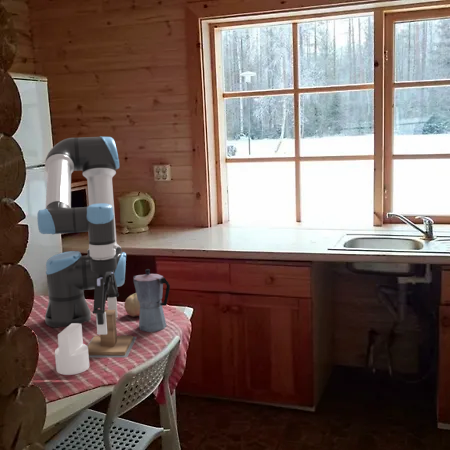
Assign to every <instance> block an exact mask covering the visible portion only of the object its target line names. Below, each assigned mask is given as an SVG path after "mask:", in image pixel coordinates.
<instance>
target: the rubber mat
mask: <svg viewBox="0 0 450 450" xmlns="http://www.w3.org/2000/svg"><path fill="white" fill-rule="evenodd" d="M93 338H94V336H93V337H92V338H91V340H90V341H89V343H88V344H87V346H88V345H89V344H90V342H91V341H92V339H93ZM137 338H138V336H133V340H132V342H131V344H130V346H129V348H128V350H127V352H126V354H125V355H89V359H90V358H91V359H92V358H129V357H128V356H129V355H130V353H131V351H132V348H133V346H134V344H135V342H136V340H137Z"/></svg>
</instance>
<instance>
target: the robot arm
mask: <svg viewBox="0 0 450 450" xmlns="http://www.w3.org/2000/svg"><path fill="white" fill-rule="evenodd" d="M44 168H45V171H46V172H47V179H46V180H47V181H46V195H45V198H46V199H45V208H44V209H40V210H38V211H37V227H38V232H39V233H40V234H42V235H59V234H74V233H85V232H88V248H87V252H86V253H87V255H82V254H81V252H80V251H78V250H77V251H76V250H75V251H74V250H70V251H64V252H60V253H57V254H54V255H52V256H50V257H49V258H48V259H46V262H45V263H46V264H45V269H46V270H45V274H46V281H47V293H48V304H47V308H46V312H45V315H44V319H45V320H44V321H45V324H46V325H47V326H48V327H51V328H56V329H58V328H62V327H63V328H67V327H68V326H69V325H70V324H71V323H79V324H81V325H82V324H84V323H87V322H89V321H90V320H91V318H92V316H91V315H93V314H94V315H95V318H96V319H95V321H96V334H97V335H96V336H100V335H104V334H107V322H106V312H105V310H106V302H107V310H115V315H116V319H118V315H119V314H118V304H117V303H118V301H117V297H119V296H120V293H119V292H118V291H119V290H118V287H122V286H123V285H124V284H125V280H126V266H127V265H126V264H127V263H126V261H127V253H126V252H125V251H122V246H120V245H119V244H118V243H117V230H116V218H115V217H116V216H115V215H116V214H115V202H114V188H113V177H114V176H115V175H116V174H117V172H116V171H117V170H118V169H120V159H119V154H118V149H117V146H116V142H115V139H114V138H113V137H111V136H101V135H100V136H88V137H68V138H64V139H63V140H60V141H59V142H58V143H56V144H55V145H54V146H53V147H52V148H51V149H50V150H49V152H48V153H47V156H46V157H45V162H44ZM74 171H76V172H77V171H78V172H79V171H82V176H83V177H84V178H85V179H86V180H87V195H88V197H87V198H88V205H87V206H84V207H82V206H81V207H80V206H79V207H72V173H74ZM85 290H87V291H88V290H93V292H94V293H93V310H92V314H91V310H90V307H89V306H88V302H87V300H86V298H85V293H84V292H85Z"/></svg>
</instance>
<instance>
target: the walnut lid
mask: <svg viewBox="0 0 450 450" xmlns="http://www.w3.org/2000/svg"><path fill="white" fill-rule="evenodd" d="M105 312H106V322H107V334H104V335H94V336H93V337H94V338H93V337H92V338H93V339H92V338H91V339H92V341H91V340H90V341H91V342H90V341H89V343H90V344H89V343H88V344H89V345H88V344H87V346H88V354H89V355H125V354H126V352H127V350H128V348H129V346H130V344H131V342H132V340H133V337H134V336H133V335H118V334H117V333H118V332H117V330H118V329H117V320H116V319H117V318H116V315H115V310H108V309H105Z"/></svg>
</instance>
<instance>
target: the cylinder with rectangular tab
mask: <svg viewBox="0 0 450 450" xmlns="http://www.w3.org/2000/svg"><path fill="white" fill-rule="evenodd" d="M83 339H84V338H83V327H82V323H81V324H79V323H71V324H70V325H69V326H67V327H64V329H63V330H62V331H60V332H59V333H58V334H57V342H58V343H57V344H58V347H57V348H55V350H54V357H55V359H54V360H55V370H56V372H57V373H58V374H61V375H64V376H71V375H77V374H81V373H84V372H85V371H87V370H89V368H90V358H89V354H88V344H87V345H86V344H85V343H84V340H83Z"/></svg>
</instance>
